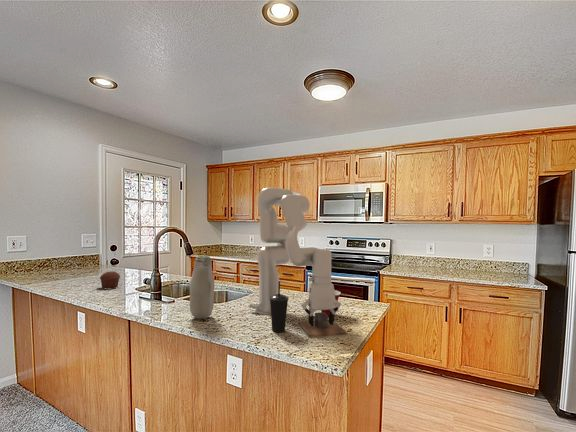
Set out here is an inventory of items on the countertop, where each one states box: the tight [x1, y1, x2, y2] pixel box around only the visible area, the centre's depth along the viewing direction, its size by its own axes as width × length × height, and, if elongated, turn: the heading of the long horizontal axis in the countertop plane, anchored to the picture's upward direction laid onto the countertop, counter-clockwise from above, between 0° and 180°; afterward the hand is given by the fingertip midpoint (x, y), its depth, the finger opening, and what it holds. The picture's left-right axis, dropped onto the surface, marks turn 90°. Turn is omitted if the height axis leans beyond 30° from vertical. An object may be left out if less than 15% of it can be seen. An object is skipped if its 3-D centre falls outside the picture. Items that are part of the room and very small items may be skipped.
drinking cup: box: [269, 280, 289, 334], centre depth 117 cm, size 8×8×20 cm
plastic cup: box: [320, 289, 341, 318], centre depth 138 cm, size 11×11×12 cm
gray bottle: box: [189, 254, 215, 320], centre depth 133 cm, size 10×10×28 cm
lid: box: [297, 311, 348, 339], centre depth 119 cm, size 15×15×6 cm
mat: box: [296, 323, 349, 339], centre depth 119 cm, size 16×16×1 cm
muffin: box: [99, 270, 121, 289], centre depth 191 cm, size 12×11×10 cm
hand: (321, 324), depth 119 cm, fingers open, 7 cm apart
